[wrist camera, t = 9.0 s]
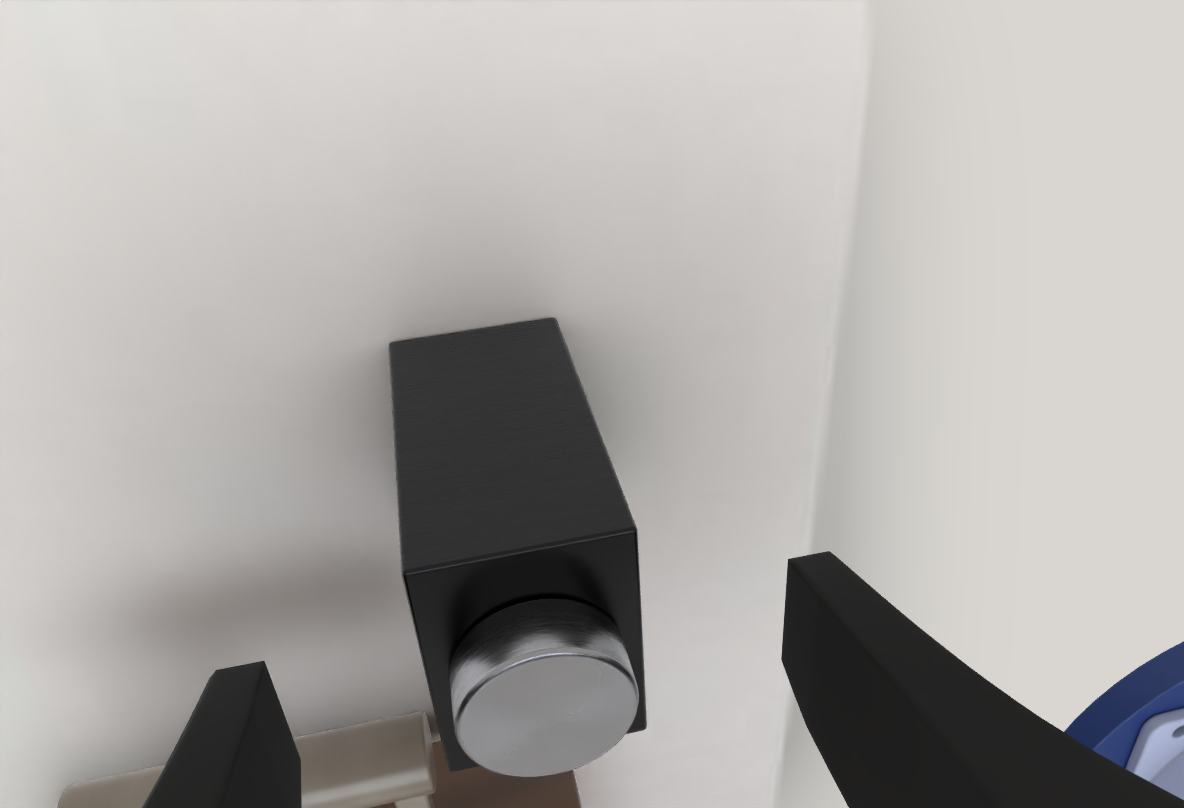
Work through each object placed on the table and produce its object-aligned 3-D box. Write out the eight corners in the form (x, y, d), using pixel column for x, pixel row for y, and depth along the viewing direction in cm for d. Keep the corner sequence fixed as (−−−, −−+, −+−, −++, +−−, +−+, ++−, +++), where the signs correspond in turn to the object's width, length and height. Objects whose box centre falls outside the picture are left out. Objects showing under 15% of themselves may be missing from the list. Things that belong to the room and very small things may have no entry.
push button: (556, 316, 17) (659, 582, 11) (572, 490, 19) (666, 788, 13) (387, 342, 16) (403, 633, 11) (424, 516, 19) (454, 837, 13)
